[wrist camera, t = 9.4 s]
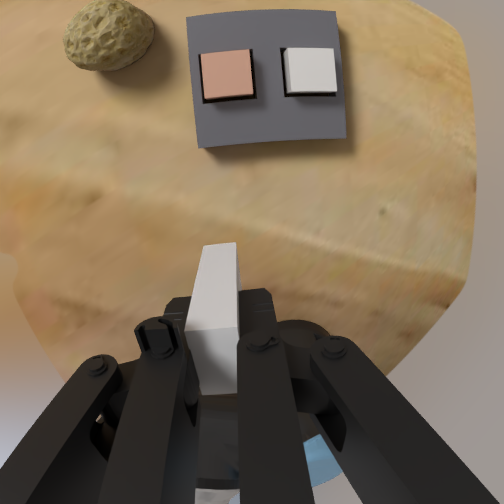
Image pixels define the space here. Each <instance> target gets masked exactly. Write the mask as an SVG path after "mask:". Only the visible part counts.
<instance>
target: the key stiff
mask: <svg viewBox="0 0 504 504" xmlns="http://www.w3.org/2000/svg"><path fill="white" fill-rule="evenodd" d="M201 63H202V74H203V85H204V95H205V99H207V100H212V99H221V98H230V97H241V96H252V94H253V86H252V75H251V64H250V53H249V49H246V50H234V51H223V52H214V53H206V54H201Z"/></svg>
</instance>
